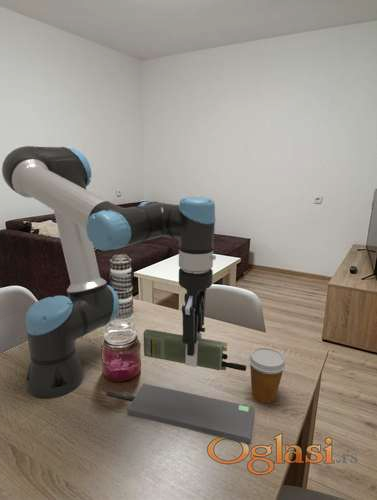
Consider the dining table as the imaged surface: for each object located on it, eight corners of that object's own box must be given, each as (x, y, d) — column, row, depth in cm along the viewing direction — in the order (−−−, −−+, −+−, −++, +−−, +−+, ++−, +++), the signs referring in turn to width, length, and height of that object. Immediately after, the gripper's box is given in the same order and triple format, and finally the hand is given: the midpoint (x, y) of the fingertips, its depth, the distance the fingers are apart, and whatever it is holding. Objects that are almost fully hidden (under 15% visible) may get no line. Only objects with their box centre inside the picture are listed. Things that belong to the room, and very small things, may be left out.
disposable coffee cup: (286, 392, 90) (291, 354, 87) (274, 413, 82) (278, 372, 79) (254, 379, 95) (257, 342, 92) (239, 398, 87) (242, 358, 84)
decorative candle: (127, 308, 137) (125, 251, 131) (138, 317, 130) (137, 256, 124) (107, 314, 132) (103, 255, 125) (117, 323, 125) (114, 261, 118)
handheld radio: (147, 350, 84) (246, 368, 77) (142, 357, 81) (245, 377, 74) (147, 327, 82) (248, 343, 75) (141, 334, 79) (247, 352, 72)
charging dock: (96, 406, 83) (96, 401, 83) (115, 382, 93) (115, 377, 92) (249, 443, 73) (250, 438, 73) (253, 412, 83) (254, 406, 82)
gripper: (204, 282, 64) (200, 385, 70) (219, 259, 79) (215, 345, 85) (167, 278, 66) (167, 378, 72) (189, 256, 81) (187, 341, 87)
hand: (193, 360), depth 79 cm, fingers closed on handheld radio, 3 cm apart
